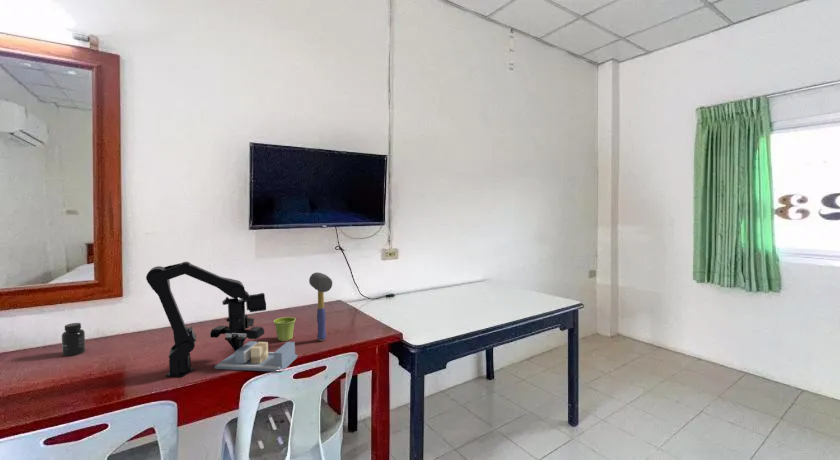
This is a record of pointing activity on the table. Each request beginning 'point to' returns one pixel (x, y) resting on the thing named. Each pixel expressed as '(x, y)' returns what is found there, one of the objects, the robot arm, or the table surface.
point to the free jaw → (244, 353)
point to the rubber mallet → (321, 300)
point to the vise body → (272, 363)
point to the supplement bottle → (73, 340)
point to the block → (259, 352)
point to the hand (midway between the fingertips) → (238, 353)
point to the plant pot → (284, 328)
